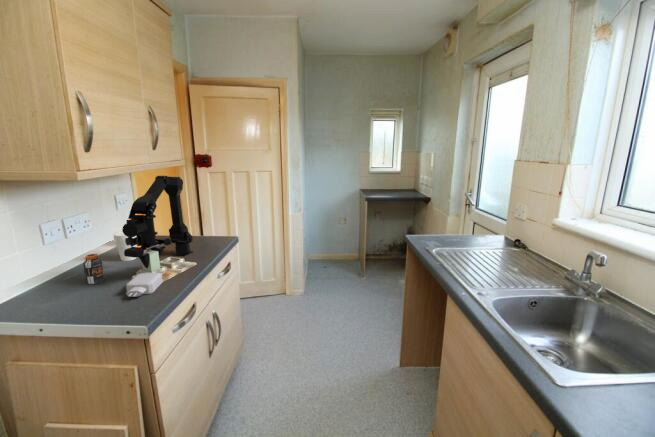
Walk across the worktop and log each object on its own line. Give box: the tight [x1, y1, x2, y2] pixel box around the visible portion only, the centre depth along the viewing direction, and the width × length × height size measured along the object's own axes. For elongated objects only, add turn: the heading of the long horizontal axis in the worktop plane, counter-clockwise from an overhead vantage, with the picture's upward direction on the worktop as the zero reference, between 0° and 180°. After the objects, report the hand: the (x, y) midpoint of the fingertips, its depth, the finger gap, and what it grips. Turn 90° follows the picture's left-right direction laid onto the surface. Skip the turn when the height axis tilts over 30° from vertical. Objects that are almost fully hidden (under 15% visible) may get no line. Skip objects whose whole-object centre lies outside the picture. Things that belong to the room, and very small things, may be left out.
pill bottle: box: [82, 253, 105, 285], centre depth 123 cm, size 6×6×11 cm
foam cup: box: [112, 231, 137, 262], centre depth 148 cm, size 10×9×13 cm
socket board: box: [131, 256, 197, 283], centre depth 135 cm, size 21×15×3 cm
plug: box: [141, 249, 161, 273], centre depth 129 cm, size 4×4×8 cm
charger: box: [125, 273, 164, 298], centre depth 115 cm, size 5×9×15 cm
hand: (151, 265), depth 130 cm, fingers closed on plug, 4 cm apart
